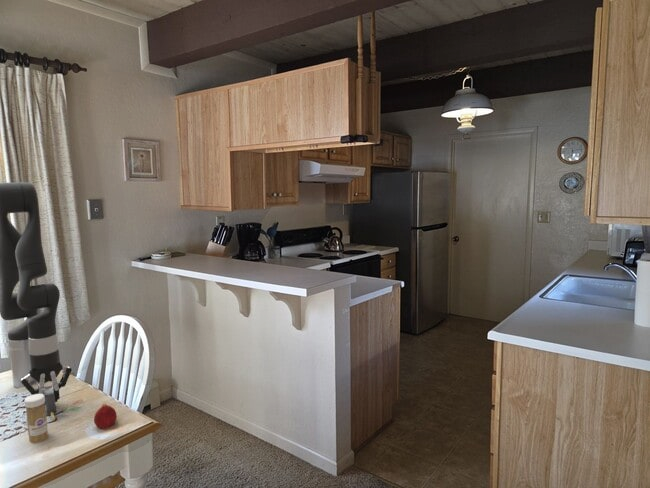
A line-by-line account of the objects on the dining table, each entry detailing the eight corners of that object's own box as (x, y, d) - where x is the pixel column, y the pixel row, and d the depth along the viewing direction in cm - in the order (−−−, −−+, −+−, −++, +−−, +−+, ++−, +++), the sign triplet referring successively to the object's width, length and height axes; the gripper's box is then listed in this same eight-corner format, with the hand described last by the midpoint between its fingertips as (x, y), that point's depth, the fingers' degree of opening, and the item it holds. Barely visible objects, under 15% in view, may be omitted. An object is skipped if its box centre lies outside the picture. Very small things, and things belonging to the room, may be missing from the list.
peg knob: (44, 405, 136) (42, 387, 135) (53, 402, 137) (51, 385, 136) (48, 422, 126) (46, 403, 125) (58, 419, 127) (56, 400, 126)
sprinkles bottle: (36, 449, 115) (31, 402, 114) (25, 445, 117) (20, 399, 115) (53, 440, 120) (48, 394, 118) (41, 436, 121) (36, 391, 119)
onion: (122, 425, 126) (120, 400, 125) (106, 436, 121) (104, 410, 120) (106, 422, 128) (104, 397, 127) (90, 433, 123) (88, 406, 122)
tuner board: (28, 411, 135) (27, 407, 135) (82, 397, 144) (82, 392, 144) (31, 434, 122) (31, 430, 122) (90, 417, 131) (90, 413, 131)
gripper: (67, 340, 138) (72, 391, 140) (14, 351, 129) (20, 406, 131) (73, 347, 132) (77, 400, 135) (17, 359, 123) (24, 416, 126)
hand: (49, 402), depth 133 cm, fingers closed on peg knob, 2 cm apart
